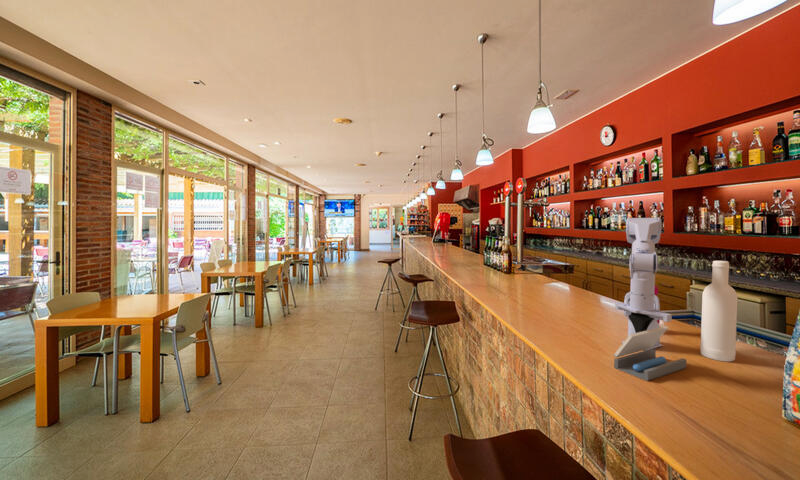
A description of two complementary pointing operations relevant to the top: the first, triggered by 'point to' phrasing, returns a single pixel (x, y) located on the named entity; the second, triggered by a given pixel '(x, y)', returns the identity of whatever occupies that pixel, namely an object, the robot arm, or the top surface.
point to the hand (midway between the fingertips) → (640, 338)
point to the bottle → (719, 316)
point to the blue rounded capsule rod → (649, 363)
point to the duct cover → (640, 341)
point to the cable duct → (650, 373)
